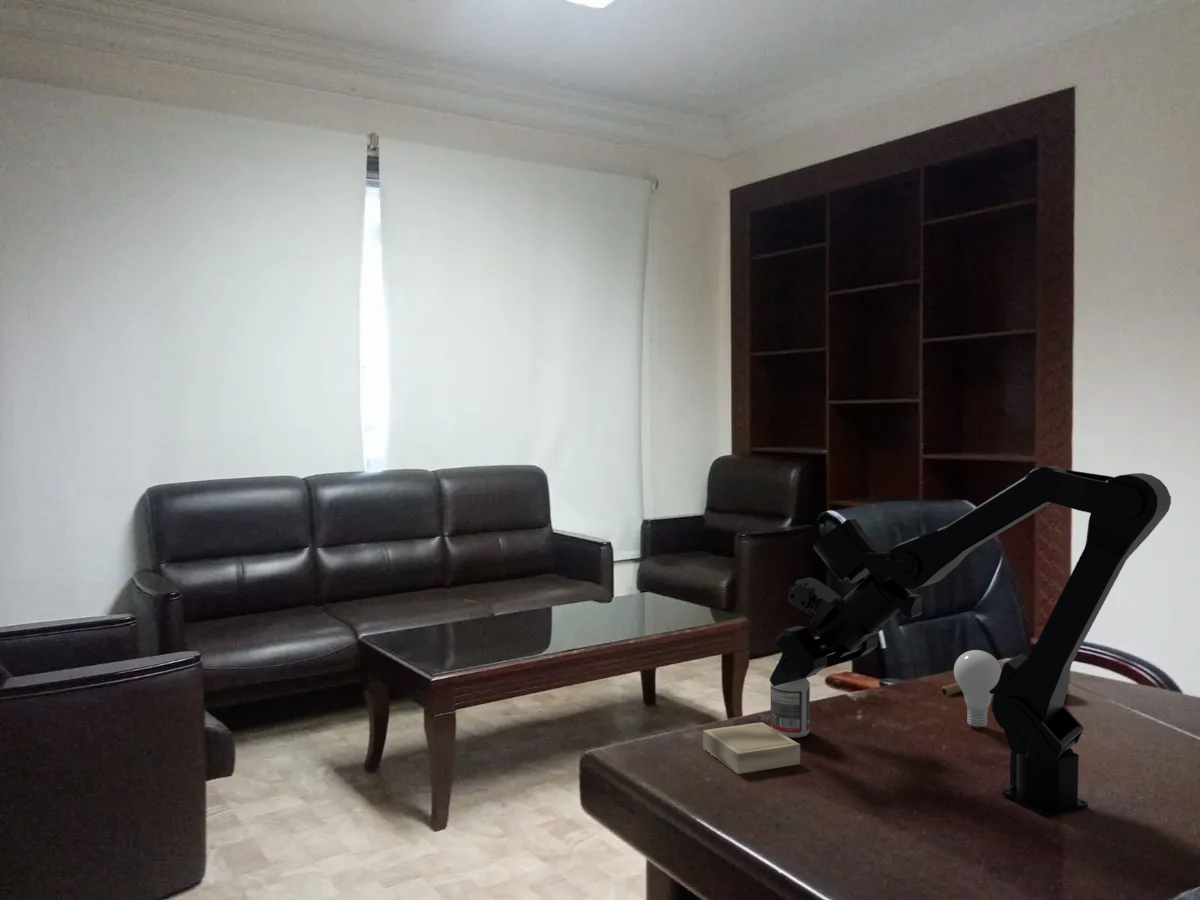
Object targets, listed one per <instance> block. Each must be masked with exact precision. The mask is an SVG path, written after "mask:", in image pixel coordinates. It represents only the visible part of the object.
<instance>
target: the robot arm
mask: <svg viewBox="0 0 1200 900" xmlns="http://www.w3.org/2000/svg"><path fill="white" fill-rule="evenodd" d="M1171 503H1172V496H1171V494H1170V492H1169V490H1168V487H1167V486H1166V484H1164V482H1162V481H1161V479H1159V478H1157V477H1155V476H1153V475H1152V474H1147V473H1143V472H1135V473H1128V474H1120V475H1119V474H1118V475H1117V476H1111V475H1105V474H1099V473H1098V474H1096V473H1091V472H1084V471H1083V472H1082V471H1079V470H1078V471H1077V470H1071V469H1067V468H1063V467H1060V466H1058V465H1047V466H1045V465H1043V466H1037V467H1035V468H1032V470H1030V471H1029V472H1028V474H1026V475H1025V476H1024V477H1023V478H1021V479H1019V480H1018V481H1017V482H1014V483H1012V484H1011V485H1009V486H1008V487H1007V488H1005V489H1003V490H1002V491H1000V492H998V493H997V494H996V495H994V496H992V497H991V498H989V499H987V500H986V501H984V502H983V503H981V504H979V505H978V506H976V507H974V508H973V509H971V510H970V511H968V512H967V513H965V514H963V515H962V516H960V517H958V518H957V519H955V520H953V521H951V523H948V525H945V526H943V527H940V528H938V529H935V530H933V531H929V532H927V533H924V534H921V535H918V536H916V537H913V538H910V539H908V540H905V541H903V542H901V543H898V544H895V545H894V546H893V547H892V546H886V547H883V548H879V547H878V546H877V545H876V544H875V543H874V541H873V540H872V539H871V538H870V536H869V535H867V533H866V532H865V531H864V529H863V527H862V525H861V524H860V522H859V521H858V520H857V519H856V518H848V519H847V518H846V520H844V522H842V523H841V524H839V525H838V526H836V527H834V528H832V529H831V530H829V531H828V532H826V533H824V534H822V535H821V536H820V537H819V538H818V539H817V540H816V541H815V543H814V544H813V546H812V547H813V549H814V551H815V552H816V554H818V556H819V557H820V558H821V559H822V561H823V562H824V563H825V564H826V565H827V567H828V568H829V570H830V571H831V572H832V573H833V574H834V576H835V577H836V578H837V580H838V581H839V582H845V581H847V580H848V582H849V583H850V584H854V583H857V582H859V581H860V580H862V579H863V578H864V579H863V580H862V581H861V582H860V583H859V584H858V585H857V586H855V587H854V588H853V589H852V590H851V591H850V592H849V593H848V594H846V595H845V596H844V597H841V596H840V595H839V594H838V592H836V591H835V590H833V589H831V588H830V587H829V586H827V585H825V584H824V583H823V582H821V581H820V580H818V579H816V578H814V577H806V578H801V579H800V578H799V579H797V580H796V582H794V583H792V586H791V587H789V588H787V594H788V596H787V598H788V599H787V601H788V602H789V603H790V604H791V605H792V606H795V607H796V608H797V609H799V610H801V611H803V612H804V613H806V614H808V616H811V617H812V618H811V619H809V620H808V621H809V623H810V624H811V626H812V627H813V628H814V629H817V631H816V633H817V635H818V638H815V636H813V634H812V633H811V631H810V630H809V629H808V628H807V627H806V626H800V625H796V626H793V627H789V628H785V629H784V630H783V631H781V632H780V633H779V634H778V635H777V636H776V637H775V644H776V645H777V646H778V649H780V651H781V656H780V659H779V662H778V664H777V666H776V665H775V668H774V669H773V672H772V673H771V675H770V677H769V682H770V684H771V683H772V685H773V686H777V685H781V684H785V683H789V682H793V681H796V680H800V679H805V678H806V679H807V678H810V677H813V676H815V675H817V674H818V673H819V672H820V671H822V670H823V669H827V668H830V667H833V666H838V665H840V664H841V665H842V664H844V663H847V662H850V661H854V660H856V659H859V658H861V657H863V656H865V655H868V654H870V653H871V652H872V651H874V649H876V648H877V647H878V646H879V642H878V641H879V637H878V635H877V634H878V633H880V632H881V631H882V630H883V628H882V626H884V624H886V623H887V622H888V621H889V620H891V619H892V618H893V617H894V616H895V615H896V614H897V613H899V611H900V612H901V613H902V614H903V615H904V616H905V618H906V619H912V618H915V617H918V616H920V615H923V606H922V605H923V604H922V598H923V596H922V595H921V594H915V593H913V592H912V591H910V590H915V589H919V588H921V587H926V586H930V585H932V584H935V583H938V582H940V581H941V580H943V579H944V578H945V577H946V576H947V575H949V573H951V572H952V571H953V570H954V569H955V568H956V567H958V566H959V565H960V563H962V561H963V560H964V559H965V558H966V557H967V555H968V554H969V553H971V552H972V551H973V550H975V549H976V548H978V547H979V546H981V545H982V544H985V543H986V542H988V541H989V540H991V539H994V537H996V536H998V535H999V534H1001V533H1004V531H1007V530H1008V529H1009V528H1012V527H1013V526H1015V525H1016V524H1018V523H1020V522H1022V521H1023V520H1025V519H1027V518H1028V517H1030V516H1032V515H1033V514H1034V513H1037V512H1038V511H1040V510H1041V509H1044V508H1045V507H1047V506H1049V505H1050V504H1054V505H1055V504H1056V505H1059V506H1062V507H1066V508H1069V509H1073V510H1075V511H1080V512H1084V513H1088V514H1089V513H1090V515H1089V518H1088V522H1087V523H1088V524H1087V532H1086V533H1087V534H1086V539H1085V544H1084V545H1085V546H1084V548H1083V550H1082V552H1081V554H1080V556H1079V558H1078V560H1077V562H1076V564H1075V566H1074V568H1073V570H1072V572H1071V574H1070V576H1069V578H1068V579H1067V582H1066V583H1065V586H1064V587H1063V590H1062V592H1061V594H1060V595H1059V597H1058V599H1057V602H1056V603H1055V605H1054V607H1053V609H1052V611H1051V613H1050V615H1049V617H1048V619H1047V622H1046V623H1045V625H1044V627H1043V628H1042V629H1043V630H1042V631H1041V634H1040V635H1039V637H1038V639H1037V641H1036V643H1035V645H1034V647H1033V648H1032V650H1031V653H1030V654H1029V655H1028V656H1026V655H1025V654H1023V653H1020V654H1019V655H1017V656H1015V657H1013V658H1011V659H1010V660H1007V661H1005V662H1004V663H1003V666H1002V667H1001V669H1002V671H1001V674H1000V678H999V681H998V683H997V684H996V686H995V687H994V688H993V689H991V690H990V691H989V693H990V694H993V696H992V699H991V703H990V705H991V707H990V710H991V712H992V714H993V717H994V719H995V721H996V722H997V724H998V725H999V727H1000V728H1001V729H1002V730H1003V731H1004V735H1005V737H1006V740H1007V744H1008V746H1009V749H1010V754H1009V755H1010V760H1009V761H1010V764H1009V785H1010V787H1008V788H1003V789H1001V795H1002V796H1005V797H1006V798H1009V799H1011V800H1012V801H1015V802H1017V803H1019V804H1021V805H1023V806H1025V807H1027V808H1029V809H1031V810H1033V811H1035V812H1037V813H1039V814H1041V815H1043V816H1045V817H1046V816H1047V817H1048V816H1049V817H1050V816H1055V815H1060V814H1064V813H1065V814H1066V813H1069V812H1074V811H1078V810H1083V809H1087V808H1089V803H1088V801H1086V800H1083V799H1081V798H1079V754H1077V753H1076V752H1074V750H1073V749H1072V746H1074V745H1077V744H1078V743H1079V741H1080V738H1081V737H1082V735H1083V732H1084V730H1085V729H1084V726H1083V725H1082V724H1081V722H1080V721H1079V720H1078V719H1077V718H1076V717H1075V715H1073V714H1072V712H1070V710H1069V709H1068V708H1067V707H1066V706H1065V705H1064V704H1065V700H1066V696H1067V693H1068V688H1069V682H1070V673H1071V667H1072V664H1073V662H1074V660H1075V658H1076V657H1077V655H1078V653H1079V651H1080V648H1081V647H1082V645H1083V643H1084V641H1085V640H1086V637H1087V635H1088V634H1089V632H1090V630H1091V628H1092V626H1093V624H1094V623H1095V621H1096V618H1097V617H1098V615H1099V613H1100V611H1101V609H1102V607H1103V606H1104V604H1105V601H1106V599H1107V598H1108V596H1109V594H1110V592H1111V591H1112V588H1113V587H1114V585H1115V582H1116V581H1117V579H1118V577H1119V575H1120V572H1121V571H1122V569H1123V567H1124V565H1125V563H1126V562H1127V560H1128V559H1129V558H1130V557H1131V556H1132V554H1133V553H1134V552H1135V551H1136V550H1137V549H1138V548H1139V547H1140V546H1141V544H1143V543H1144V541H1145V540H1146V539H1147V538H1148V537H1149V536H1150V535H1151V533H1152V532H1153V531H1154V530H1155V528H1157V526H1158V525H1159V524H1160V522H1161V521H1163V519H1164V517H1165V516H1166V515H1167V514H1168V512H1169V510H1170V508H1171ZM868 574H869V575H868ZM867 575H868V576H867Z"/></svg>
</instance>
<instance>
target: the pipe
mask: <svg viewBox="0 0 1200 900" xmlns="http://www.w3.org/2000/svg"><path fill="white" fill-rule="evenodd" d="M940 691H941V694H942V695H943V696H946V697H950V696H952V695H954V694H958V693H961V692H962V690H961V688H960V687H959V685H958V684H957V682H955V683H952V684H949V685H943V686H942V687H941V690H940ZM962 693H963V692H962Z"/></svg>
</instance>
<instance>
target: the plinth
mask: <svg viewBox="0 0 1200 900" xmlns="http://www.w3.org/2000/svg"><path fill="white" fill-rule="evenodd" d="M702 750H704V751H705V750H706V751H707V752H706V751H705V752H706V753H708V752H709V753H710V754H709V753H708V754H709V755H711V756H712V755H713V756H714V757H713V756H712V757H713V758H715V757H716V758H717V759H718V760H717V759H716V758H715V759H716V760H717V761H719V762H720V761H721V762H720V763H722V764H723V765H725V767H727V768H728V769H730V770H731V769H732V770H731V771H733V772H734V773H735V774H737V775H740V774H746V773H753V772H759V771H766V770H770V769H771V770H772V769H777V768H783V767H791V766H795V765H801V744H800V743H798V742H797V741H795V740H793V738H790V737H786V736H785V735H783V734H781V733H780V732H778V731H776V730H774V729H773V728H771V726H769V725H768V724H766V723H764V722H762V721H761V722H754V723H746V724H739V725H732V726H731V725H730V726H725V727H723V726H722V727H718V728H710V729H709V728H708V729H703V730H702Z"/></svg>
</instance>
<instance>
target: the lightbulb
mask: <svg viewBox="0 0 1200 900" xmlns="http://www.w3.org/2000/svg"><path fill="white" fill-rule="evenodd" d="M1001 671H1002V666H1001V665H1000V663H999V660H997V658H996V657H995V656H994V655H992V654H990V653H989V652H986V651H984V650H979V649H973V650H968V651H965V652H963V653H962V654H961V655H960V656H959V657H957V659H956V661H955V662H954V666H953V676H954V680H955V683H957V684H958V685H959V687H960V688H961V690H962V693H963V696H964V697H963V698H964V703H965V704H966V709H967V710H966V715H967V717H966V718H967V719H966V720H967V721H966V723H967V724H968V725H970V726H971V727H972V728H974V729H982V728H984V727H986V726H988V713H989V712H988V710H989V707H990V705H991V703H992V699H993V697H994V694H990V693H989V691H990V690H991V689H993V688H994V687H995V686H996V684H997V683H998V681H999V678H1000V674H1001Z"/></svg>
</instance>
